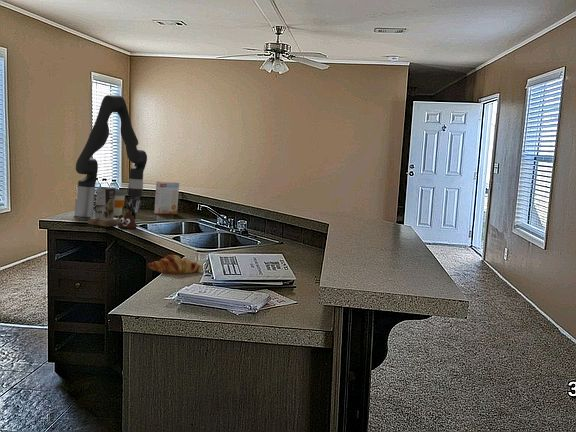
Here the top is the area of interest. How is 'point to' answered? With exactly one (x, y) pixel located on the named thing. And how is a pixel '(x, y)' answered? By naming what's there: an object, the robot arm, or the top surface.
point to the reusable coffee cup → (119, 201)
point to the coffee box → (105, 203)
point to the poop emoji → (127, 221)
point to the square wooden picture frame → (103, 221)
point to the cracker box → (166, 197)
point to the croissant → (175, 265)
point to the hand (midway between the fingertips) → (133, 219)
